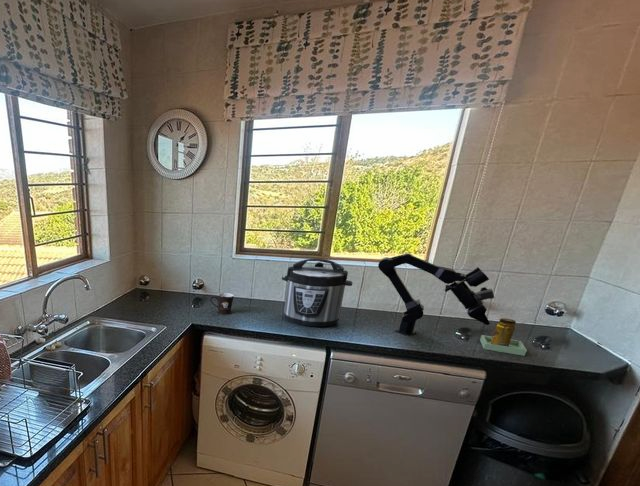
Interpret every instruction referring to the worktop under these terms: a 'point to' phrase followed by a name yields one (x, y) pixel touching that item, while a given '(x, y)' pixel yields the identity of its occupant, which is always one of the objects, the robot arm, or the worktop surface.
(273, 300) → the worktop surface
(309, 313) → the pressure cooker
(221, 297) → the coffee mug
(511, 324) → the condiment
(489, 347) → the tray
